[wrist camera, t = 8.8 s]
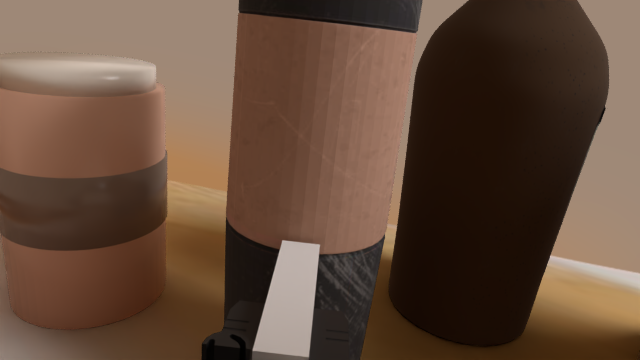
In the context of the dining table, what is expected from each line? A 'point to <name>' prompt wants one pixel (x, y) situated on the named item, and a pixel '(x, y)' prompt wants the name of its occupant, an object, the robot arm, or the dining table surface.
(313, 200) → the travel mug
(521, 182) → the olive oil
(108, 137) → the terracotta canister
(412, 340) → the dining table surface
